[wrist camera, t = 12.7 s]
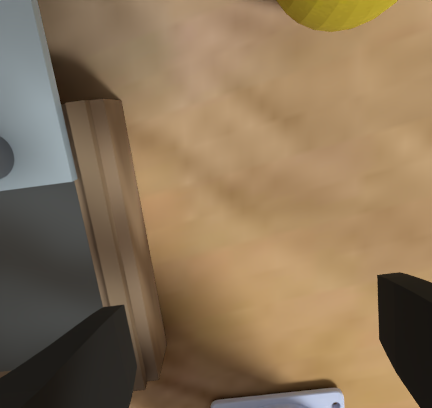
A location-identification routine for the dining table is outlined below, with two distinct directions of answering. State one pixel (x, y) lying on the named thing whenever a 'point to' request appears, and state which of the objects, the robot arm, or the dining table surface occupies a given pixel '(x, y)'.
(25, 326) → the case
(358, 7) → the lemon
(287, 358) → the dining table surface
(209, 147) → the dining table surface
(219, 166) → the dining table surface
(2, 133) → the lid
